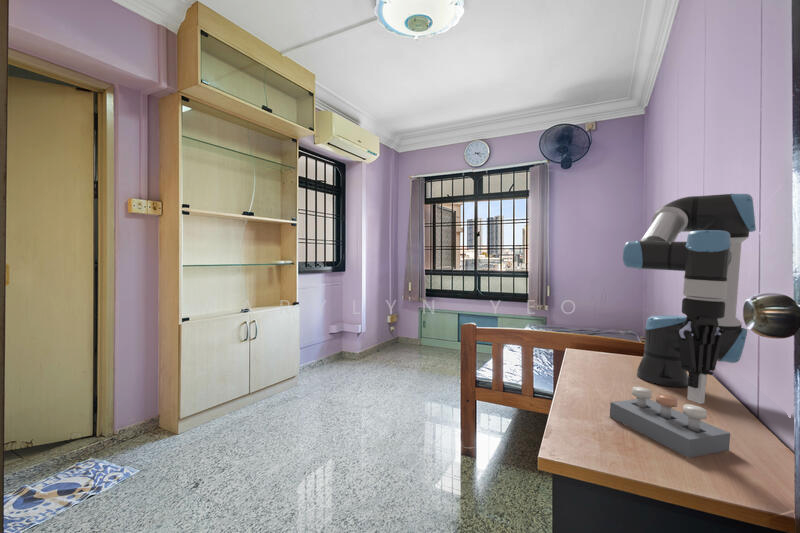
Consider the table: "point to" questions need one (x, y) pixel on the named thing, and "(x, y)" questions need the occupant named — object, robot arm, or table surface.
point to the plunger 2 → (694, 416)
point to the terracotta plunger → (666, 405)
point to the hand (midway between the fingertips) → (695, 400)
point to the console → (670, 428)
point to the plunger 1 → (641, 396)
